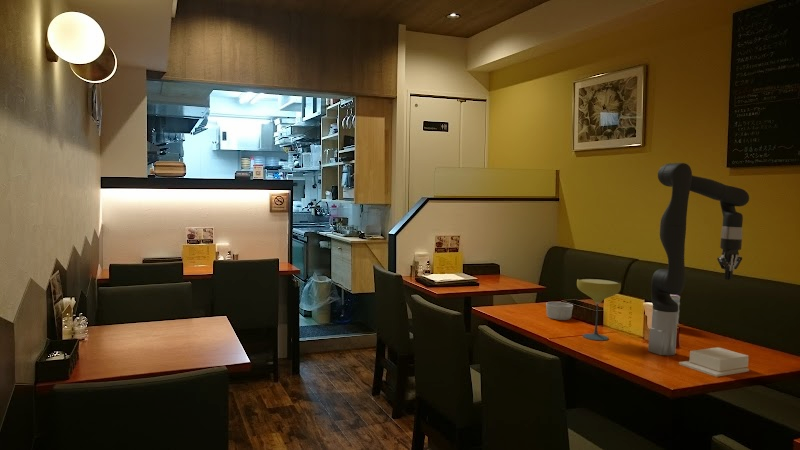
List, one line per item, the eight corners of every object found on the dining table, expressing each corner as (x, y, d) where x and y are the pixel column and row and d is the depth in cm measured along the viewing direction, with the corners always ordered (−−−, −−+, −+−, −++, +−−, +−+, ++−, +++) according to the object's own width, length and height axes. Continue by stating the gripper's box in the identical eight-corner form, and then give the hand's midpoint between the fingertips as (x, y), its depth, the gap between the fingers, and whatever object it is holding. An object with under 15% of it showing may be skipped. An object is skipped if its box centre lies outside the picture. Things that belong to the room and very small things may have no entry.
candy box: (678, 331, 266) (681, 296, 265) (665, 330, 267) (667, 295, 266) (670, 324, 280) (673, 291, 279) (658, 323, 281) (660, 290, 280)
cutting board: (716, 376, 200) (716, 374, 200) (679, 364, 214) (679, 362, 214) (749, 371, 208) (749, 369, 208) (711, 359, 222) (711, 357, 221)
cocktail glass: (594, 344, 237) (597, 284, 236) (565, 333, 254) (568, 277, 252) (627, 341, 245) (630, 283, 243) (596, 330, 261) (599, 276, 260)
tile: (747, 367, 210) (719, 372, 203) (717, 358, 221) (689, 362, 214) (748, 355, 210) (720, 360, 203) (718, 347, 221) (690, 351, 214)
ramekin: (551, 313, 296) (551, 300, 295) (576, 317, 288) (577, 304, 288) (541, 317, 285) (541, 304, 285) (567, 322, 277) (567, 308, 277)
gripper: (729, 238, 228) (726, 281, 229) (750, 238, 234) (747, 280, 235) (712, 237, 235) (709, 278, 236) (733, 236, 241) (730, 277, 242)
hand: (728, 279), depth 236 cm, fingers closed
